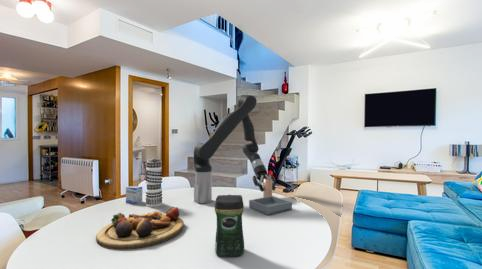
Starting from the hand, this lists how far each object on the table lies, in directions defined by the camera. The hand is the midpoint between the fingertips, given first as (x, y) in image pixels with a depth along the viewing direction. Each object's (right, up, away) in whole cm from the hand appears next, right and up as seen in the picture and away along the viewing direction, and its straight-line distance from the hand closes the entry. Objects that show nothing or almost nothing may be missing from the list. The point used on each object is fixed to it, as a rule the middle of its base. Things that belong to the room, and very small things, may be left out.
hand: (268, 190), depth 143 cm
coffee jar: (-20, -6, -63) cm, 67 cm away
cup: (0, -5, +1) cm, 6 cm away
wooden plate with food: (-56, -6, -46) cm, 72 cm away
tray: (-1, -5, -17) cm, 18 cm away
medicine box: (-77, -6, -5) cm, 77 cm away
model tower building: (-64, -6, -9) cm, 65 cm away
